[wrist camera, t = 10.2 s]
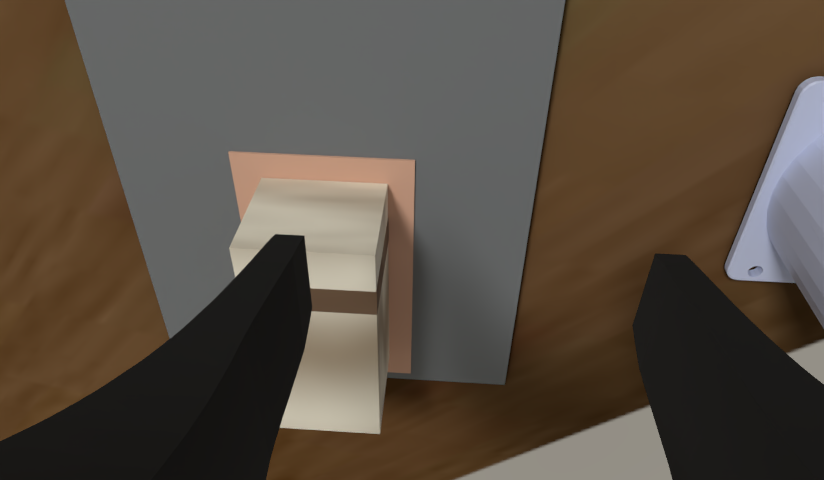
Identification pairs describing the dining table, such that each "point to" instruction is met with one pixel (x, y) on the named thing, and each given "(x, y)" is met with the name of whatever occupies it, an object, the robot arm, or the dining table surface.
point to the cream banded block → (332, 295)
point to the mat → (336, 144)
